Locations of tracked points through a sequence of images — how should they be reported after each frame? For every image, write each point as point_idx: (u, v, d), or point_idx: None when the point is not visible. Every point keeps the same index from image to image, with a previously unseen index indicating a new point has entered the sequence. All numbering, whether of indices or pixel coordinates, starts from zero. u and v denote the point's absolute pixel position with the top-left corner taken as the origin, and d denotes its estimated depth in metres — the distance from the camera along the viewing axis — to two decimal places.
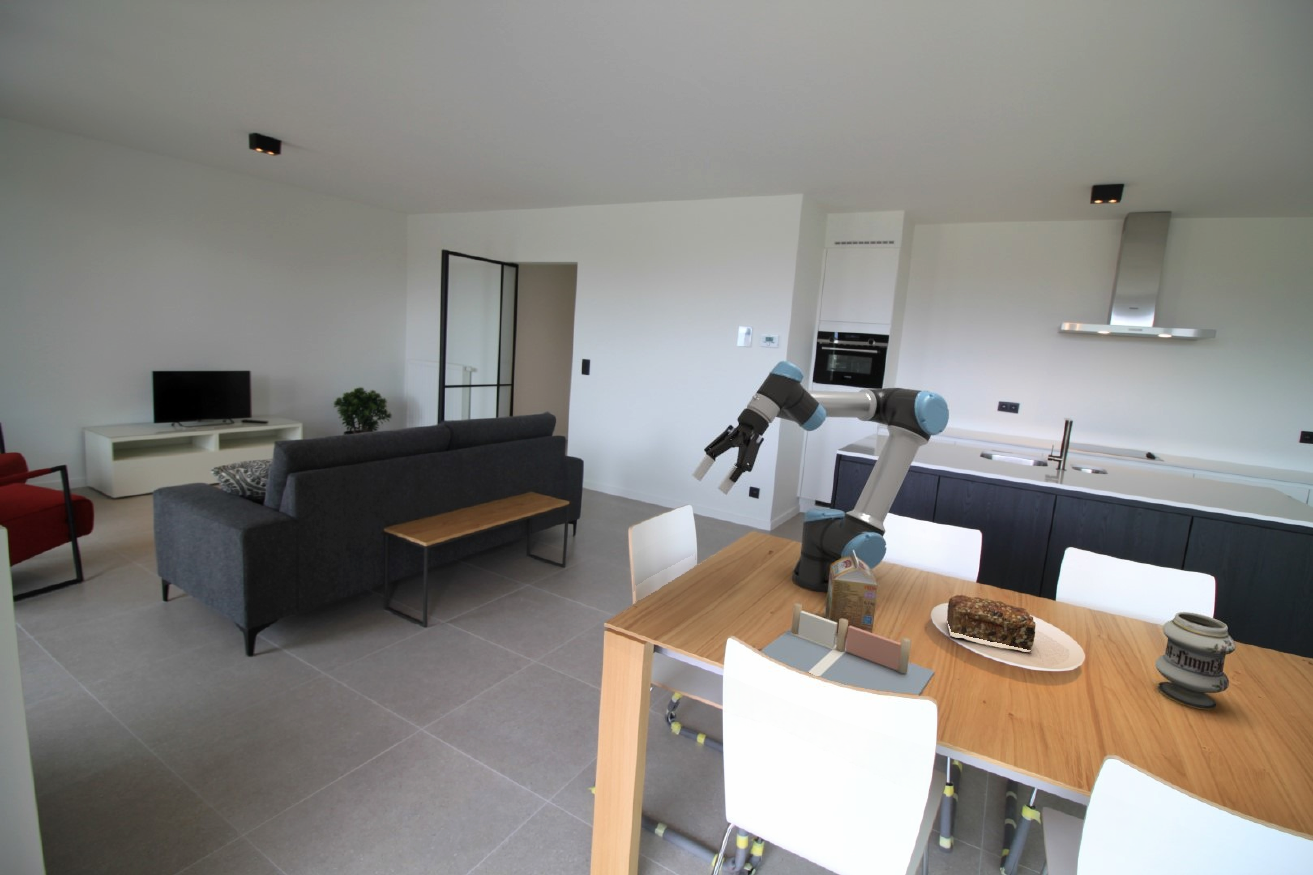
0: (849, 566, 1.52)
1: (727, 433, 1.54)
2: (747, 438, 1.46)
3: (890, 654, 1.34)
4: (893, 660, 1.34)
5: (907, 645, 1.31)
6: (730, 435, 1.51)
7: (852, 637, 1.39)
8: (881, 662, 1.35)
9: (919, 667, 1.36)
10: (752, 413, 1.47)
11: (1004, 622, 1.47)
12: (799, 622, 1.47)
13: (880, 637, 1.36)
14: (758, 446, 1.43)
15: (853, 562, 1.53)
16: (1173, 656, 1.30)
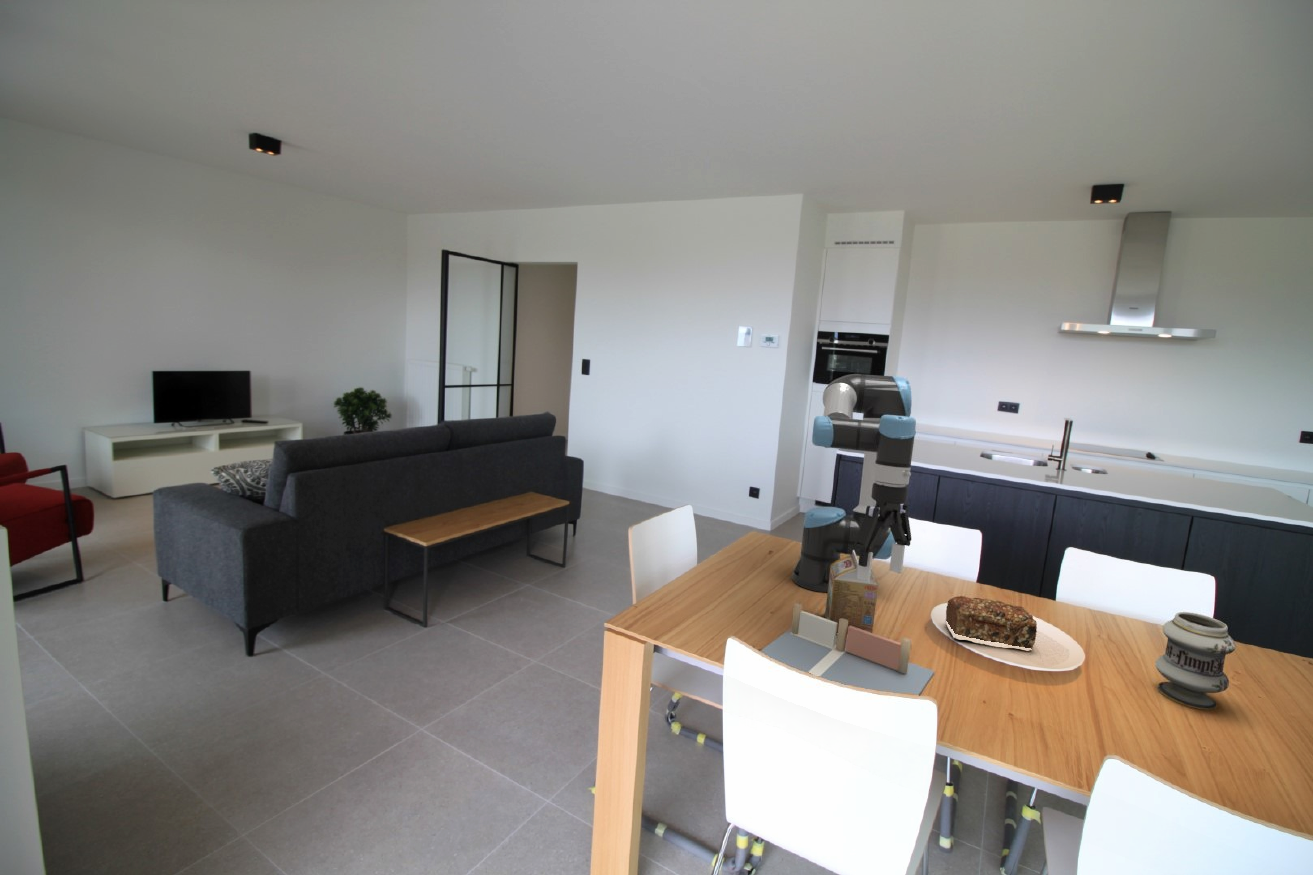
0: (849, 566, 1.52)
1: None
2: None
3: (890, 654, 1.34)
4: (893, 660, 1.34)
5: (907, 645, 1.31)
6: (887, 520, 1.33)
7: (852, 637, 1.39)
8: (881, 662, 1.35)
9: (919, 667, 1.36)
10: None
11: (1007, 622, 1.47)
12: (799, 622, 1.47)
13: (880, 637, 1.36)
14: None
15: (853, 562, 1.53)
16: (1173, 656, 1.30)
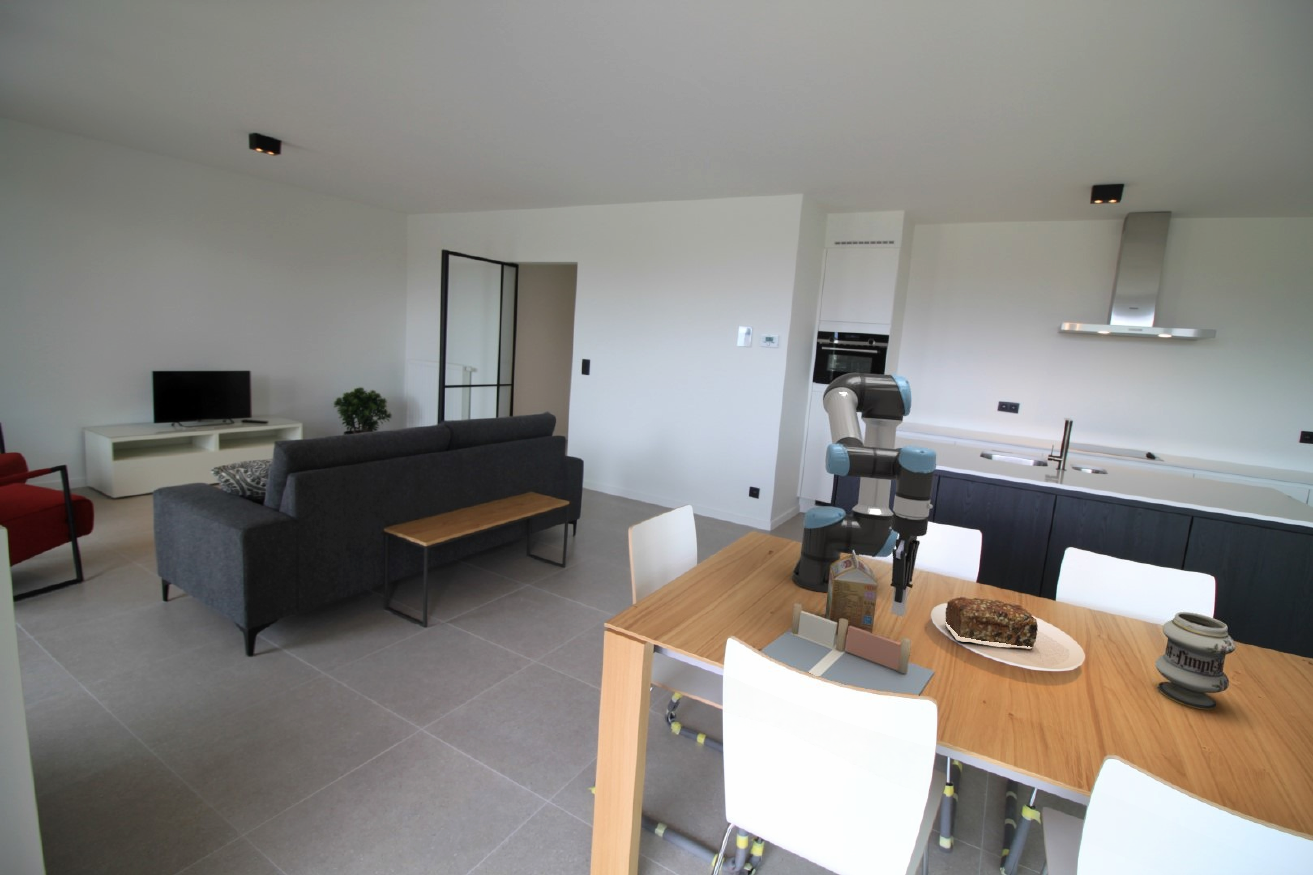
0: (849, 566, 1.52)
1: None
2: None
3: (890, 654, 1.34)
4: (893, 660, 1.34)
5: (907, 645, 1.31)
6: (912, 553, 1.35)
7: (852, 637, 1.39)
8: (881, 662, 1.35)
9: (919, 667, 1.36)
10: None
11: (1009, 622, 1.48)
12: (799, 622, 1.47)
13: (880, 637, 1.36)
14: None
15: (853, 562, 1.53)
16: (1173, 656, 1.30)
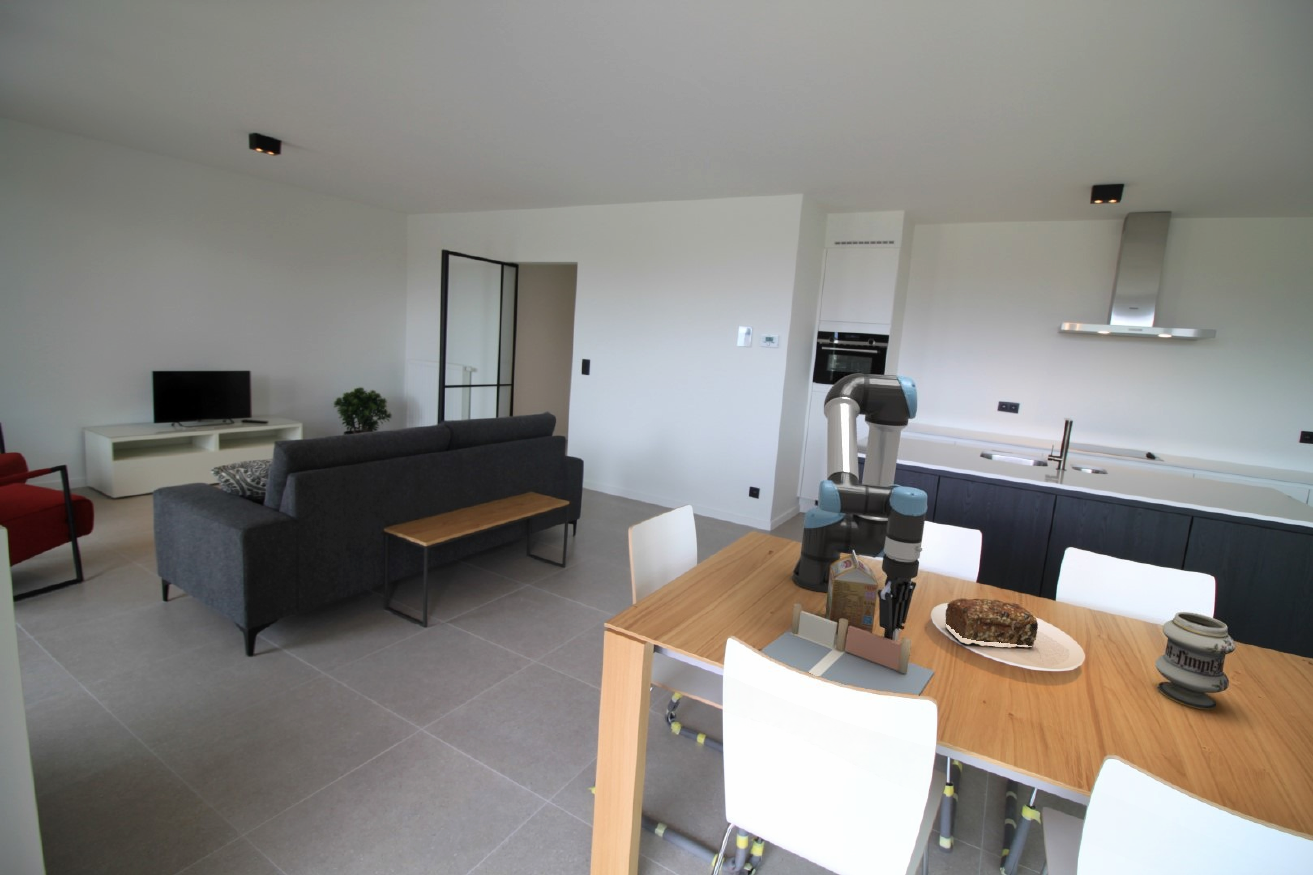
0: (849, 566, 1.52)
1: None
2: None
3: (890, 654, 1.34)
4: (893, 660, 1.34)
5: (907, 645, 1.31)
6: (901, 595, 1.33)
7: (852, 637, 1.39)
8: (881, 662, 1.35)
9: (919, 667, 1.36)
10: None
11: (1012, 622, 1.48)
12: (799, 622, 1.47)
13: (880, 637, 1.36)
14: None
15: (853, 562, 1.53)
16: (1173, 656, 1.30)
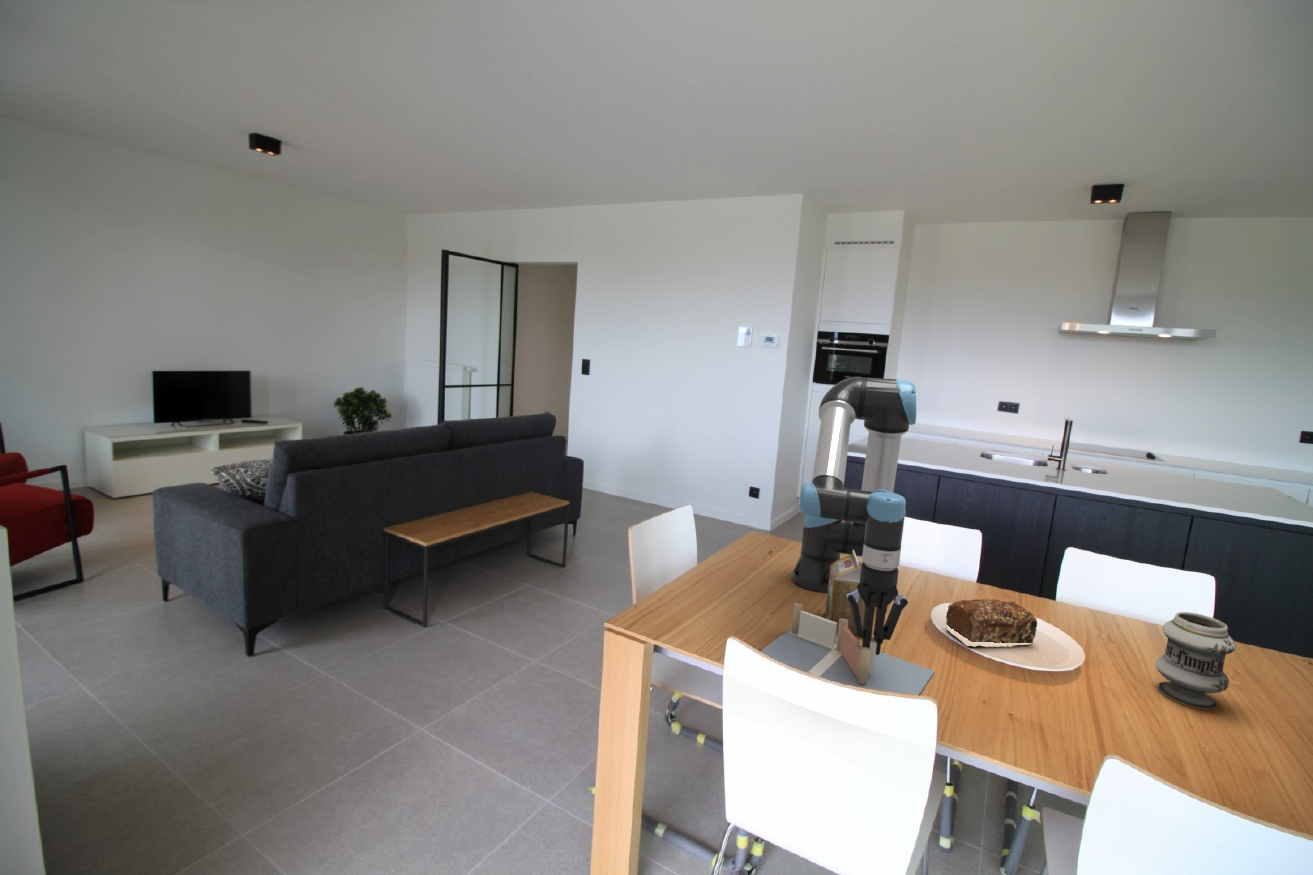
0: (849, 566, 1.52)
1: (856, 603, 1.29)
2: None
3: (856, 661, 1.30)
4: (856, 667, 1.30)
5: (862, 653, 1.26)
6: (872, 603, 1.28)
7: (843, 637, 1.39)
8: (852, 668, 1.32)
9: (919, 667, 1.36)
10: (895, 575, 1.25)
11: (1014, 621, 1.48)
12: (799, 622, 1.47)
13: (855, 642, 1.32)
14: None
15: (853, 562, 1.53)
16: (1173, 656, 1.30)
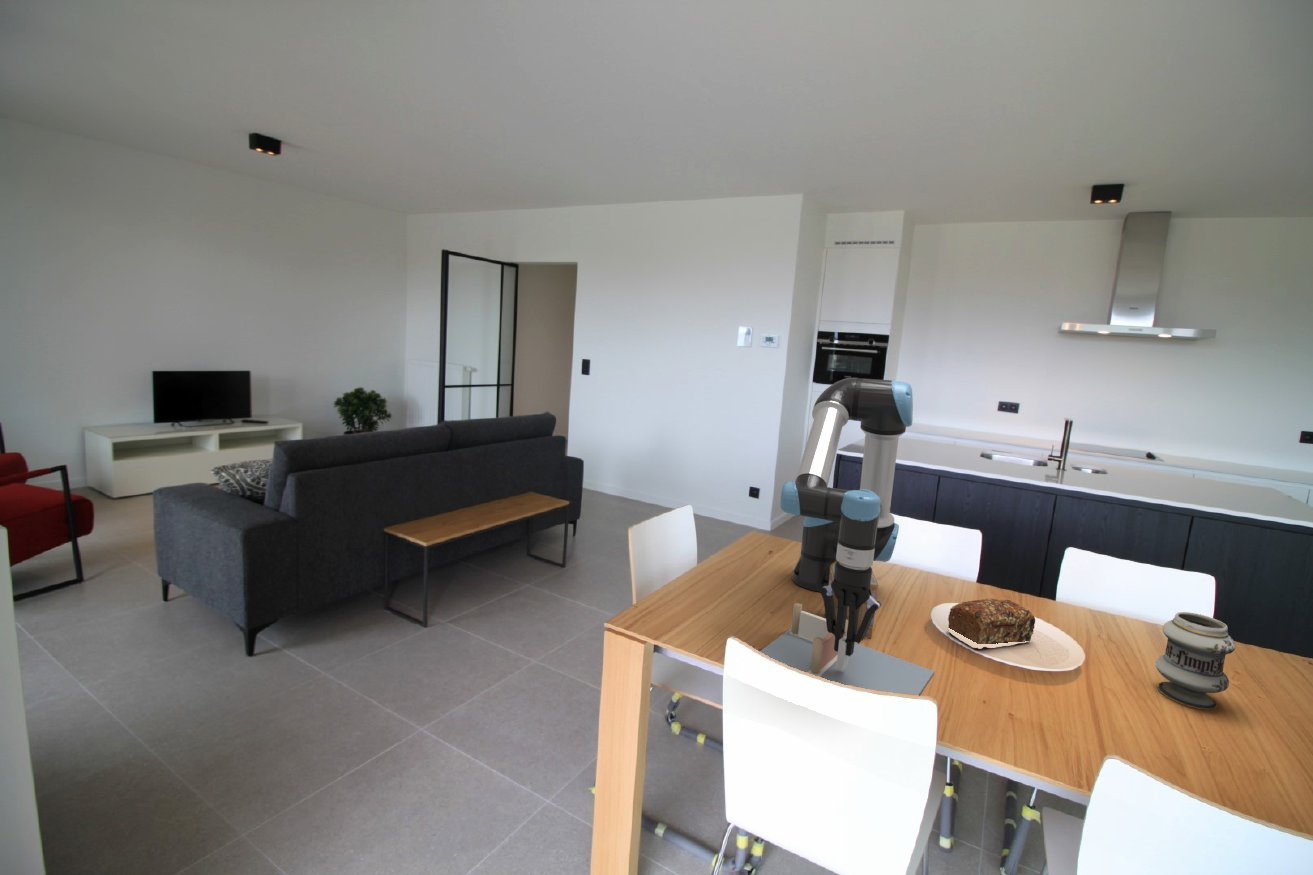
0: None
1: (829, 597, 1.31)
2: None
3: None
4: None
5: (813, 642, 1.30)
6: (841, 600, 1.28)
7: None
8: None
9: (919, 667, 1.36)
10: (858, 575, 1.24)
11: (1016, 620, 1.49)
12: (799, 622, 1.47)
13: (827, 636, 1.34)
14: (874, 613, 1.26)
15: None
16: (1173, 656, 1.30)
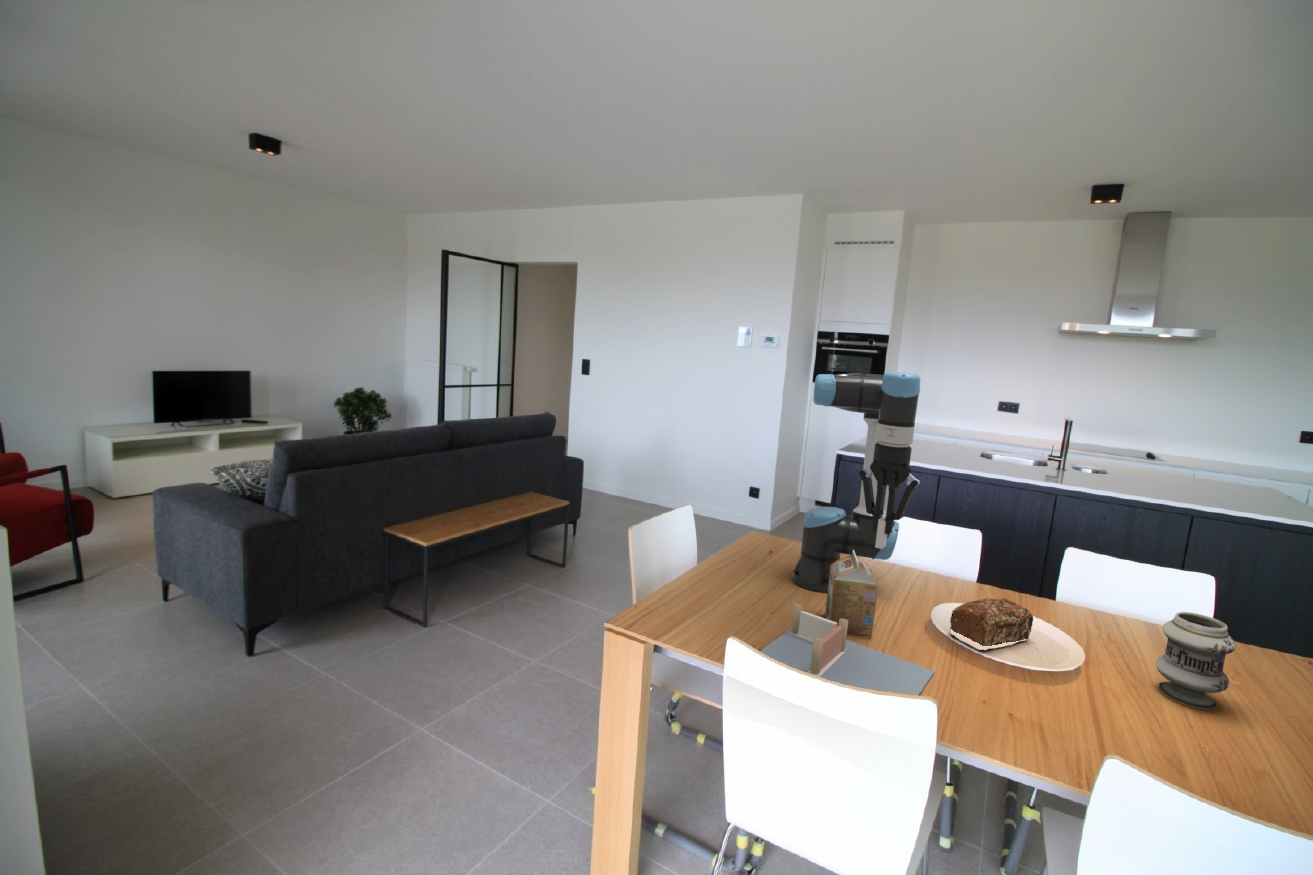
0: (849, 566, 1.52)
1: (868, 479, 1.34)
2: (901, 477, 1.30)
3: None
4: None
5: (813, 642, 1.30)
6: (880, 480, 1.32)
7: None
8: None
9: (919, 667, 1.36)
10: (899, 452, 1.27)
11: (1017, 620, 1.49)
12: (799, 622, 1.47)
13: (827, 636, 1.34)
14: (913, 490, 1.30)
15: (853, 562, 1.53)
16: (1173, 656, 1.30)
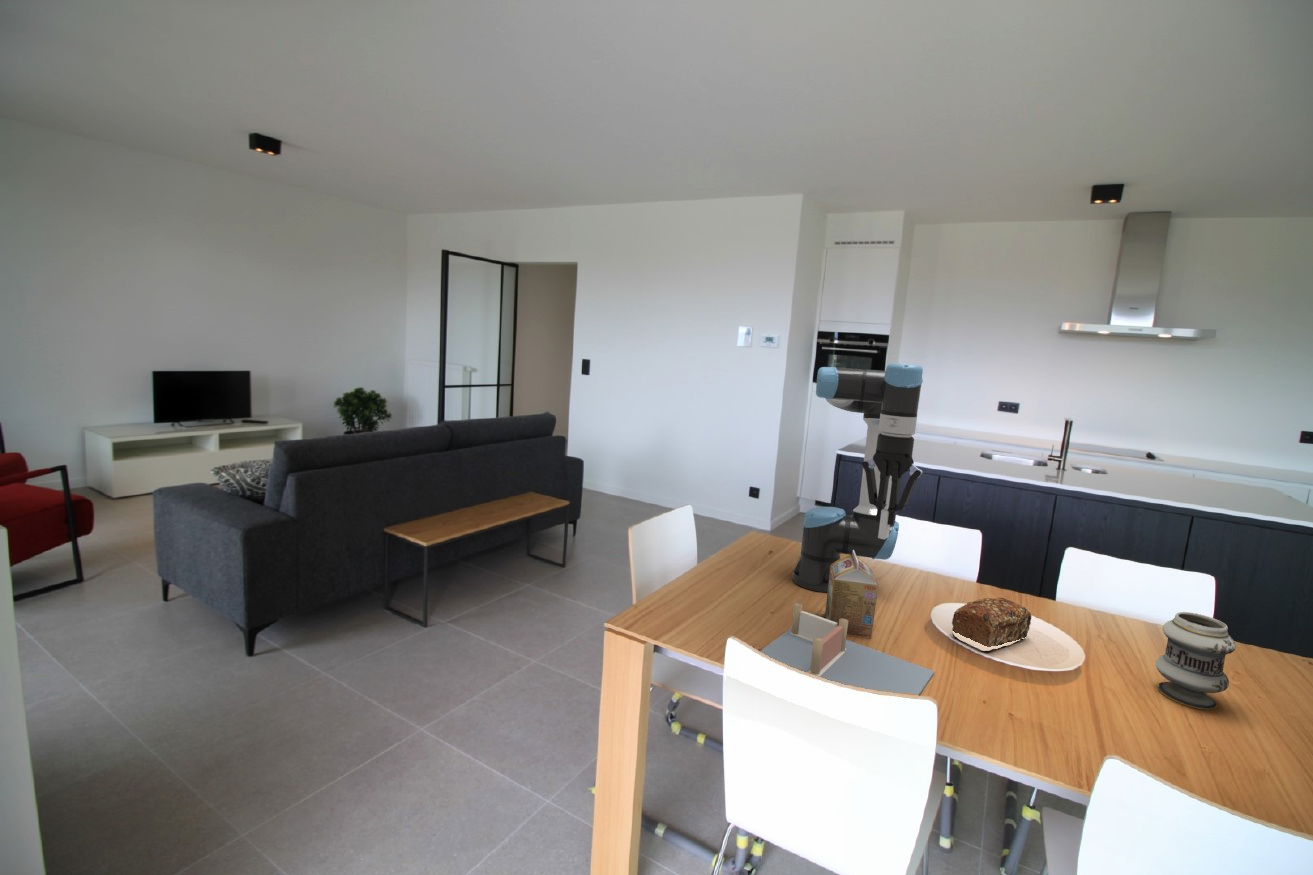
0: (849, 566, 1.52)
1: (871, 469, 1.35)
2: (904, 467, 1.31)
3: None
4: None
5: (813, 642, 1.30)
6: (883, 470, 1.32)
7: None
8: None
9: (919, 667, 1.36)
10: (902, 442, 1.28)
11: (1018, 619, 1.50)
12: (799, 622, 1.47)
13: (827, 636, 1.34)
14: None
15: (853, 562, 1.53)
16: (1173, 656, 1.30)
